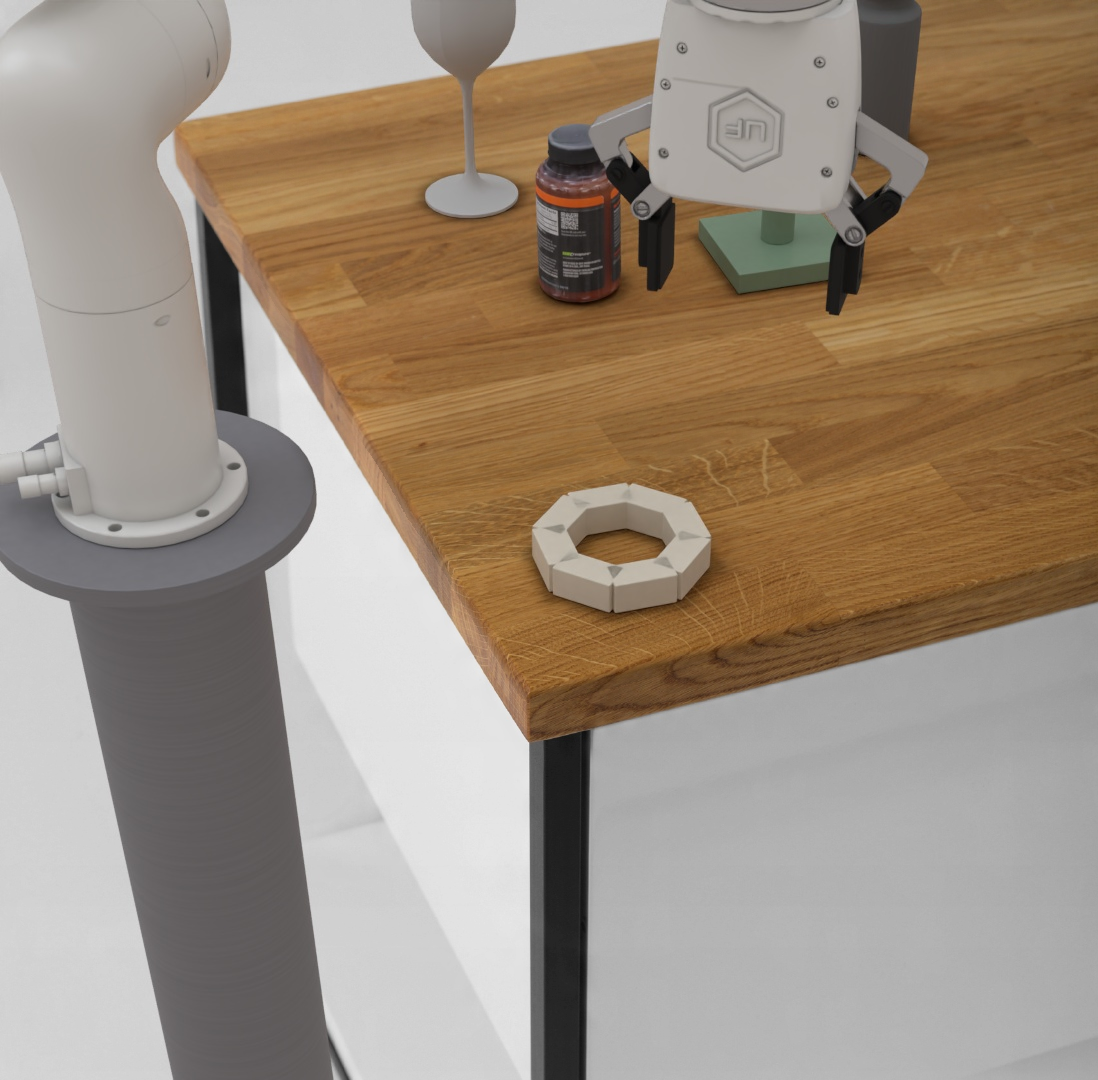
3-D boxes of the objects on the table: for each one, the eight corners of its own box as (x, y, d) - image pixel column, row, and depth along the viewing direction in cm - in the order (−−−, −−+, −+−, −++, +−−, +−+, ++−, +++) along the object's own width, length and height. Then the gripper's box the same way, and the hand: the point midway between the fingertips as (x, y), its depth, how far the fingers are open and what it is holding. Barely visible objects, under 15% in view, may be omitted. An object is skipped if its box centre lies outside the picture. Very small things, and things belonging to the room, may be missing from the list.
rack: (738, 293, 146) (748, 110, 137) (697, 237, 152) (704, 58, 143) (856, 275, 148) (873, 93, 138) (811, 220, 154) (825, 42, 145)
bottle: (910, 127, 165) (931, -64, 155) (904, 159, 161) (926, -35, 151) (838, 121, 166) (854, -68, 156) (830, 153, 162) (846, -40, 152)
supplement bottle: (605, 260, 150) (605, 110, 142) (632, 298, 146) (634, 146, 138) (527, 273, 149) (523, 123, 141) (552, 312, 144) (549, 159, 137)
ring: (563, 623, 118) (563, 595, 117) (518, 527, 125) (517, 500, 124) (727, 593, 120) (729, 565, 118) (674, 500, 127) (675, 473, 125)
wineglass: (536, 184, 159) (530, -97, 145) (494, 226, 154) (484, -60, 140) (449, 167, 161) (435, -110, 147) (405, 208, 156) (386, -75, 142)
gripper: (568, -26, 96) (571, 303, 108) (935, 10, 92) (897, 347, 104) (611, -81, 102) (610, 239, 113) (960, -49, 98) (921, 278, 109)
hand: (747, 291), depth 109 cm, fingers open, 9 cm apart
